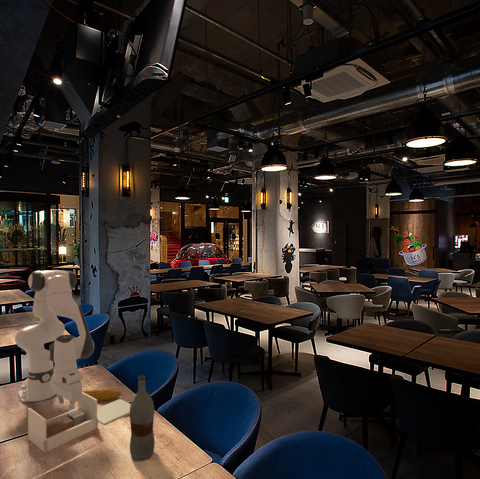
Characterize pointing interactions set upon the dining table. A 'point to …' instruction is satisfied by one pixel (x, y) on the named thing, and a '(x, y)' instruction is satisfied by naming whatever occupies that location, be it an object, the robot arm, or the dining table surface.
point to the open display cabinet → (39, 423)
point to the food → (103, 394)
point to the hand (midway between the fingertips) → (66, 406)
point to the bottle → (142, 424)
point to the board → (113, 411)
